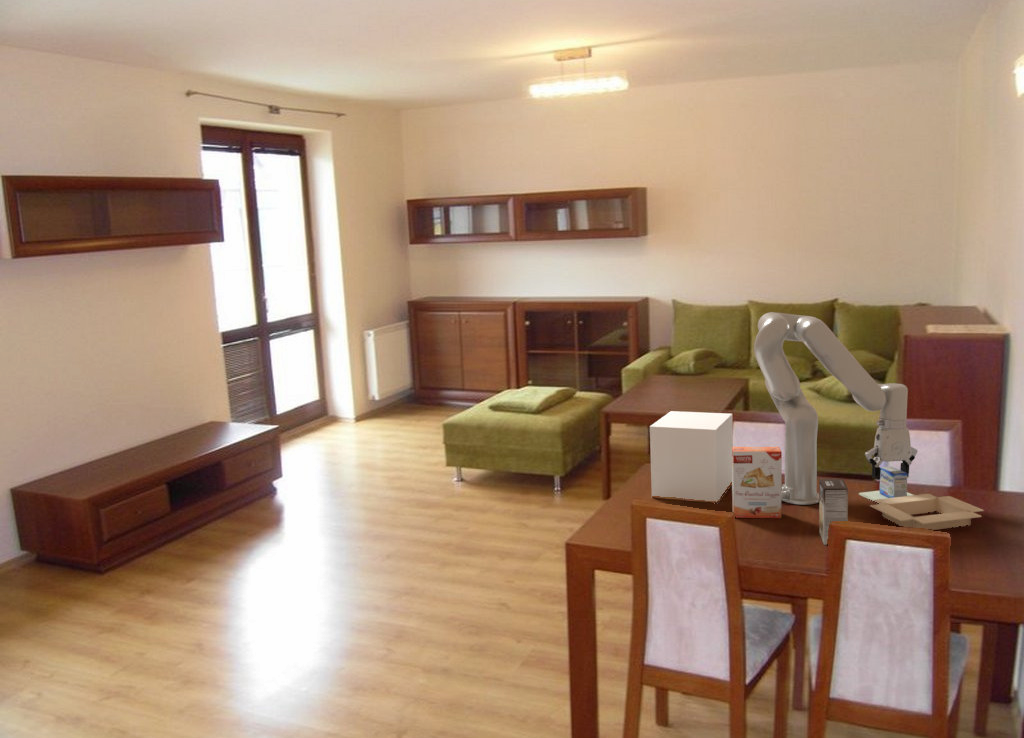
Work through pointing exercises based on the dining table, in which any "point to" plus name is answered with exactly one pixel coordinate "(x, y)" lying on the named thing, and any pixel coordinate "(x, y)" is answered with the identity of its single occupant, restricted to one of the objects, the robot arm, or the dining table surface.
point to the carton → (949, 507)
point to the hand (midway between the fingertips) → (890, 477)
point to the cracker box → (756, 482)
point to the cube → (691, 455)
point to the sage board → (875, 495)
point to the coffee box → (831, 504)
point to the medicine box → (893, 482)
